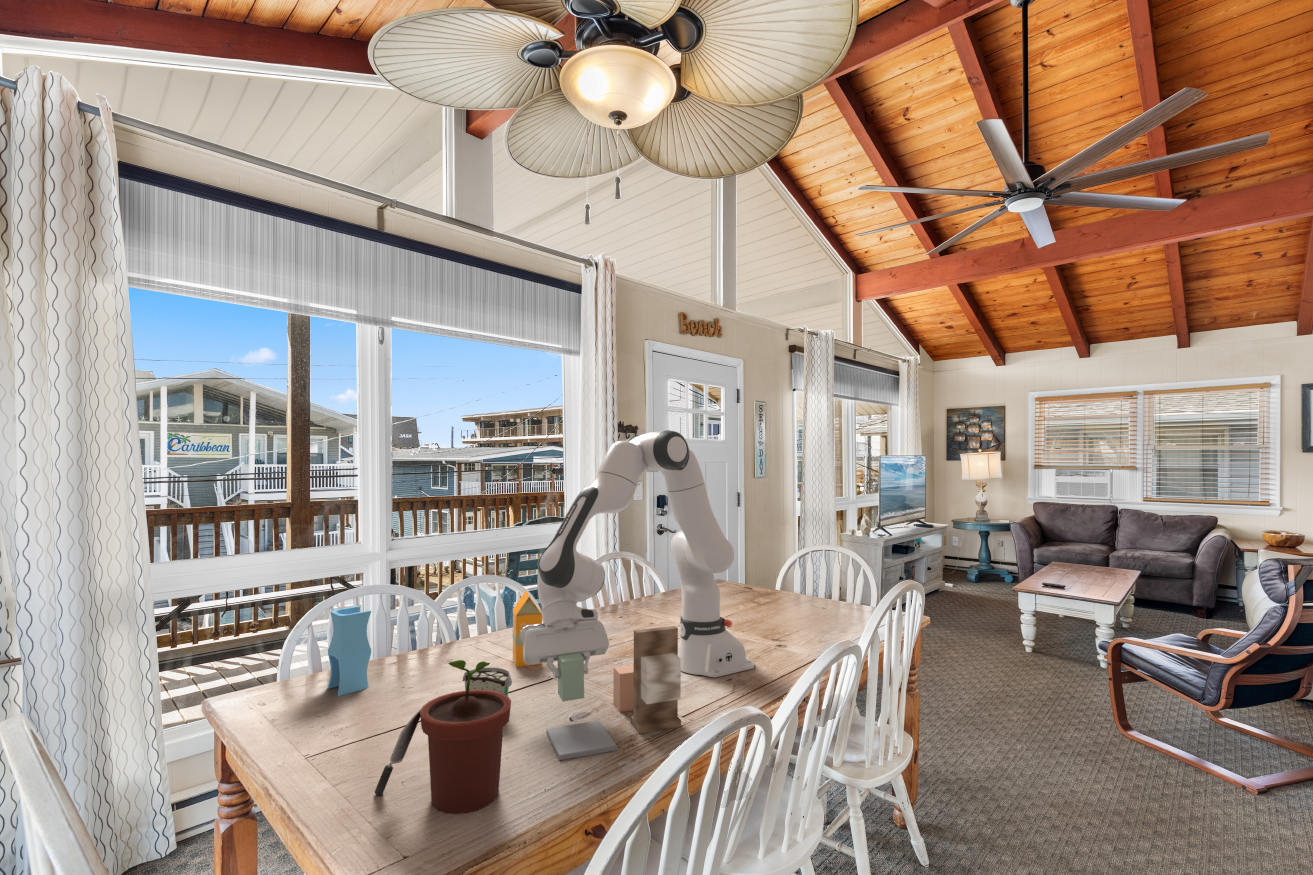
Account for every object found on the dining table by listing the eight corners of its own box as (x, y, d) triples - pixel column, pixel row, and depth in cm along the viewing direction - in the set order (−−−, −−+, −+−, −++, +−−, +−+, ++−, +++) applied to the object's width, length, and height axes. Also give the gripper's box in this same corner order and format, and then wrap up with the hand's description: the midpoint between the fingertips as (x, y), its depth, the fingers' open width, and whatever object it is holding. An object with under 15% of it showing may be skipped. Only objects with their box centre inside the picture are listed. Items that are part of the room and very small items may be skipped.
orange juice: (538, 654, 190) (538, 588, 191) (542, 664, 182) (542, 595, 182) (511, 657, 188) (512, 590, 188) (514, 666, 179) (515, 597, 180)
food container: (521, 712, 148) (522, 670, 148) (507, 723, 142) (507, 678, 142) (477, 705, 152) (478, 664, 152) (461, 715, 146) (462, 672, 146)
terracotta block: (632, 701, 155) (632, 664, 155) (639, 708, 150) (639, 671, 151) (613, 704, 153) (613, 667, 154) (619, 711, 149) (619, 673, 149)
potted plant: (448, 837, 100) (450, 680, 101) (372, 794, 112) (374, 654, 113) (530, 789, 114) (531, 651, 115) (455, 755, 127) (456, 632, 127)
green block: (578, 690, 147) (578, 651, 147) (584, 697, 143) (583, 658, 143) (558, 693, 145) (557, 654, 146) (562, 701, 141) (562, 661, 141)
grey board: (599, 724, 142) (599, 720, 142) (616, 750, 130) (616, 745, 130) (546, 732, 137) (546, 728, 137) (559, 760, 125) (559, 755, 125)
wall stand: (670, 715, 146) (671, 623, 147) (684, 730, 139) (684, 632, 139) (630, 722, 143) (630, 627, 143) (642, 737, 135) (642, 637, 136)
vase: (370, 687, 163) (371, 610, 164) (338, 695, 158) (340, 616, 158) (358, 679, 169) (359, 605, 169) (327, 687, 163) (328, 610, 163)
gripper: (519, 619, 147) (527, 675, 138) (603, 610, 154) (615, 662, 145) (517, 633, 151) (524, 688, 142) (598, 623, 158) (610, 675, 149)
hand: (571, 675), depth 143 cm, fingers closed on green block, 5 cm apart
